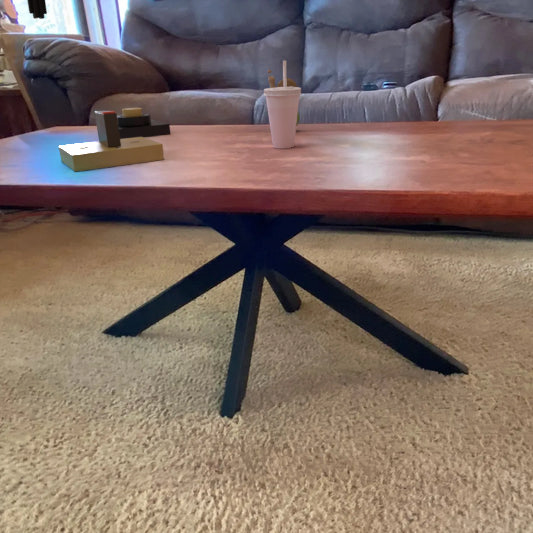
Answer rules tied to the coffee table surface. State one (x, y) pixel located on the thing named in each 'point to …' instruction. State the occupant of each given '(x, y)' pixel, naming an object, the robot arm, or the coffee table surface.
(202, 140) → the coffee table surface
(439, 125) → the coffee table surface
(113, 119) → the lock turn
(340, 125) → the coffee table surface
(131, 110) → the bell button
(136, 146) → the plate
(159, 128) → the block
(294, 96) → the smoothie
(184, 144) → the coffee table surface
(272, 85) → the snail figurine
